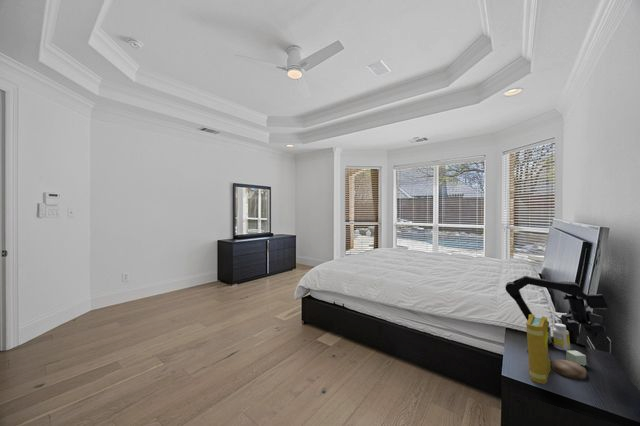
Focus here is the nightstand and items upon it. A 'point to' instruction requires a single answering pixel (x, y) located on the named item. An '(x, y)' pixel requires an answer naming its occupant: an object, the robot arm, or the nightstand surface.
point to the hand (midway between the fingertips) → (585, 340)
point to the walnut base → (569, 369)
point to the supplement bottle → (561, 337)
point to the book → (538, 348)
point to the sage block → (576, 357)
